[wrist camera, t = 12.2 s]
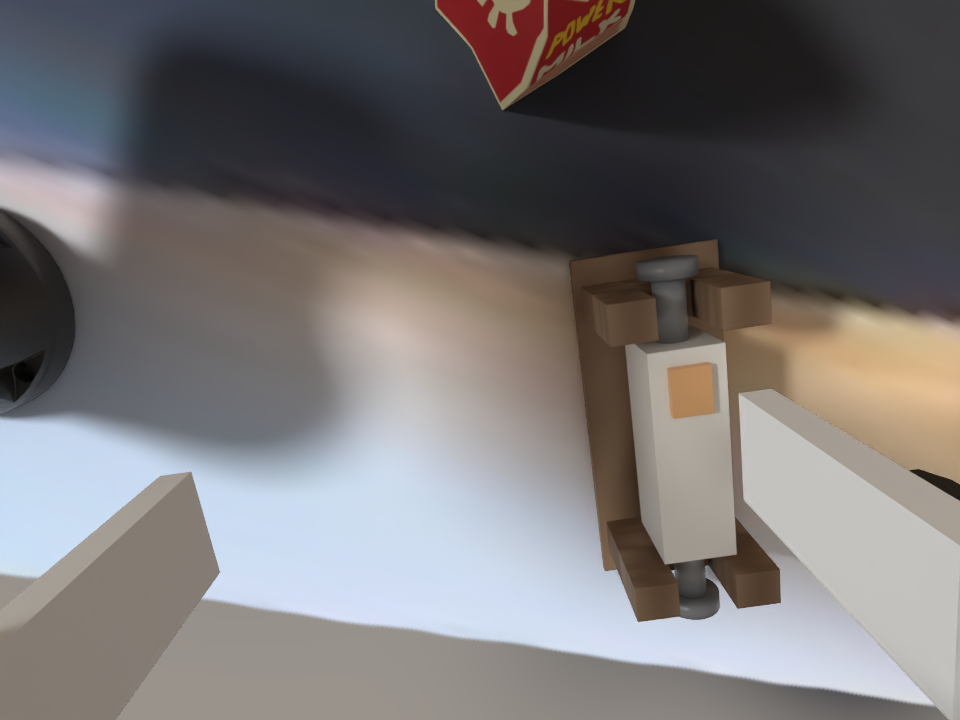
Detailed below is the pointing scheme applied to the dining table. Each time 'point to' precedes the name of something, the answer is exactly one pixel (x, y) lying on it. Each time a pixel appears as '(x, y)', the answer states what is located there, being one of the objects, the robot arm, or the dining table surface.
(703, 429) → the white block with pegs
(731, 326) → the cradle rack
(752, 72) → the dining table surface
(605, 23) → the milk carton
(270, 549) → the dining table surface
